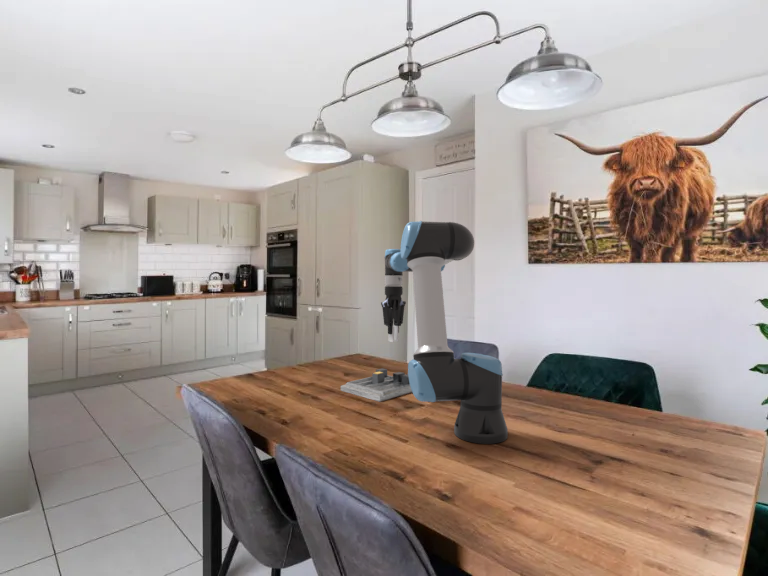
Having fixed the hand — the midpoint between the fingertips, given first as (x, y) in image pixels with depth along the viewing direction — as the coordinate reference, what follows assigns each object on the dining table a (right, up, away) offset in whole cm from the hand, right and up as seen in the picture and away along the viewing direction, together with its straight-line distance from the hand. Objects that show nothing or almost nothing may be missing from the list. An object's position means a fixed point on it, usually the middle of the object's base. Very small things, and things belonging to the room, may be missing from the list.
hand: (393, 341), depth 183 cm
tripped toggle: (-6, -16, -6) cm, 19 cm away
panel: (-4, -19, -8) cm, 21 cm away
